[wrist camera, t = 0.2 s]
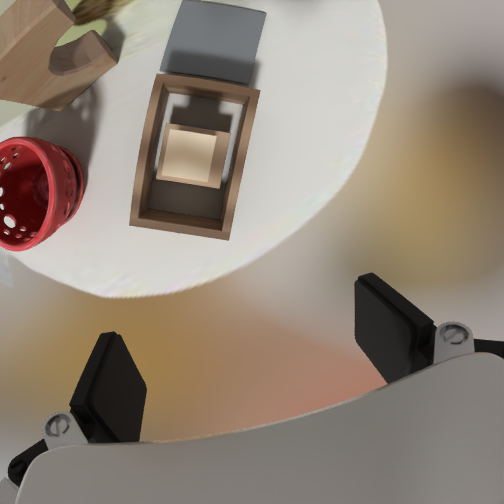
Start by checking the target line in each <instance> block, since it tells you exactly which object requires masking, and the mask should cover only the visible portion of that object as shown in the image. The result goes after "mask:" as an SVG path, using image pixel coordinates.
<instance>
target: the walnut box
mask: <svg viewBox="0 0 504 504" xmlns="http://www.w3.org/2000/svg"><path fill="white" fill-rule="evenodd" d="M169 93H175V94H183V95H190V96H197V97H203V98H209V99H215V100H221V101H226V102H231V103H237V104H241V105H243V109H242V113H241V118H240V122H239V127H238V131H237V136H236V141H235V145H234V150H233V155H232V160H231V165H230V170H229V174H228V179H227V184H226V190H225V195H224V200H223V205H222V210H221V216H220V220H217V219H211V218H205V217H198V216H192V215H185V214H179V213H172V212H166V211H159V210H152V209H148V203H149V196H150V189H151V182H152V176H153V170H154V164H155V158H156V153H157V147H158V142H159V137H160V132H161V127H162V122H163V118H164V113H165V109H166V104H167V100H168V96H169ZM259 95H260V90H257V89H252V88H248V87H243V86H238V85H233V84H228V83H223V82H217V81H211V80H205V79H198V78H191V77H184V76H176V75H166V74H156V78H155V82H154V85H153V89H152V93H151V97H150V102H149V106H148V110H147V115H146V119H145V124H144V129H143V134H142V139H141V144H140V150H139V156H138V162H137V168H136V174H135V181H134V188H133V196H132V204H131V213H130V223H129V225H130V226H136V227H143V228H150V229H156V230H163V231H170V232H176V233H183V234H189V235H196V236H203V237H209V238H216V239H222V240H228V241H229V237H230V232H231V227H232V222H233V217H234V212H235V207H236V202H237V197H238V192H239V187H240V182H241V177H242V173H243V168H244V163H245V158H246V154H247V149H248V144H249V140H250V135H251V130H252V126H253V121H254V117H255V112H256V108H257V103H258V99H259ZM170 129H173V130H181V131H187V132H194V133H200V134H206V135H212V136H217V137H216V142H215V147H214V152H213V157H212V162H211V167H210V172H209V177H208V182H203V181H197V180H190V179H184V178H177V177H171V176H164V175H162V169H163V163H164V157H165V152H166V147H167V142H168V137H169V132H170ZM230 135H231V133H226V132H220V131H215V130H209V129H203V128H197V127H190V126H183V125H176V124H169V123H166V127H165V131H164V136H163V141H162V147H161V152H160V157H159V163H158V169H157V175H156V179H160V180H167V181H174V182H181V183H187V184H194V185H200V186H206V187H212V188H218V189H220V184H221V178H222V173H223V168H224V163H225V159H226V154H227V149H228V144H229V139H230Z"/></svg>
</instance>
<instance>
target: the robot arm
mask: <svg viewBox="0 0 504 504" xmlns="http://www.w3.org/2000/svg"><path fill="white" fill-rule="evenodd" d="M433 323H434V321H433V320H432V319H430V318H429V317H428V316H427V315H426V314H424V313H423V312H422V311H421V310H419V309H418V308H417V307H416V306H414V305H413V304H412V303H411V302H410V301H408V300H407V299H406V298H405V297H403V296H402V295H401V294H400V293H398V292H397V291H396V290H395V289H393V288H392V287H391V286H389V285H388V284H387V283H386V282H384V281H383V280H382V279H380V278H379V277H378V276H377V275H375V274H374V273H368V274H365V275H361V276H359V277H358V280H357V281H355V339H356V342H357V344H358V345H359V346H360V348H361V349H362V350H363V352H364V353H365V354H366V356H367V357H368V358H369V359H370V361H371V362H372V363H373V365H374V366H375V367H376V368H377V370H378V371H379V373H380V374H381V375H382V377H383V378H384V379H385V381H386V382H387V383H388V384H387V385H385V386H382V387H380V388H377V389H375V390H372V391H370V392H368V393H365V394H362V395H359V396H357V397H354V398H351V399H349V400H346V401H343V402H340V403H337V404H334V405H331V406H328V407H325V408H322V409H319V410H315V411H312V412H309V413H305V414H302V415H298V416H295V417H291V418H288V419H284V420H280V421H276V422H272V423H268V424H264V425H259V426H255V427H250V428H245V429H240V430H235V431H229V432H223V433H218V434H211V435H205V436H198V437H190V438H181V439H172V440H160V441H146V442H139V439H140V432H141V424H142V418H143V411H144V405H145V398H146V393H147V388H146V384H145V382H144V380H143V379H142V376H141V375H140V373H139V371H138V369H137V367H136V365H135V363H134V361H133V359H132V357H131V355H130V353H129V351H128V349H127V347H126V345H125V343H124V341H123V339H122V337H121V335H119V334H118V335H117V334H116V333H115V332H114V331H113V332H107V333H102V334H100V336H99V338H98V340H97V342H96V345H95V347H94V349H93V351H92V353H91V355H90V357H89V359H88V362H87V364H86V366H85V368H84V371H83V373H82V375H81V377H80V380H79V382H78V384H77V387H76V389H75V391H74V394H73V396H72V399H71V401H70V404H69V405H70V407H71V410H70V412H67V411H58V412H55V413H53V414H52V415H50V416H49V417H48V418H47V419H46V420H45V422H44V424H43V427H42V434H43V437H44V439H42V440H41V441H39V442H38V443H36V444H35V445H33V446H32V447H30V448H28V449H27V450H25V451H24V452H22V453H21V454H20V455H18V456H16V457H15V458H14V459H13V460H12V461H11V463H10V464H9V467H8V477H9V479H7V478H5V477H4V479H3V480H2V481H1V482H0V504H504V341H503V342H502V341H491V340H481V339H473V334H472V331H471V330H470V328H469V327H467V326H465V325H464V324H462V323H459V322H446V323H443V324H441V325H440V326H439V327H438V328H437V327H436V326H435V325H434V324H433Z"/></svg>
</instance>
